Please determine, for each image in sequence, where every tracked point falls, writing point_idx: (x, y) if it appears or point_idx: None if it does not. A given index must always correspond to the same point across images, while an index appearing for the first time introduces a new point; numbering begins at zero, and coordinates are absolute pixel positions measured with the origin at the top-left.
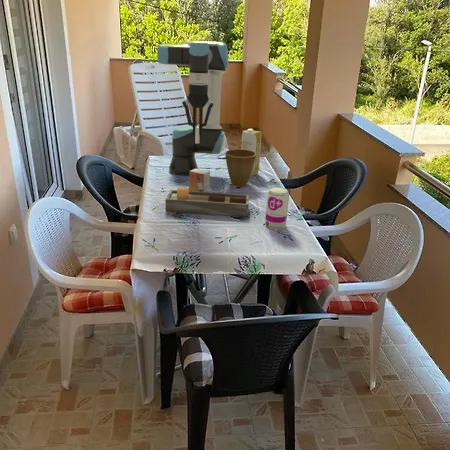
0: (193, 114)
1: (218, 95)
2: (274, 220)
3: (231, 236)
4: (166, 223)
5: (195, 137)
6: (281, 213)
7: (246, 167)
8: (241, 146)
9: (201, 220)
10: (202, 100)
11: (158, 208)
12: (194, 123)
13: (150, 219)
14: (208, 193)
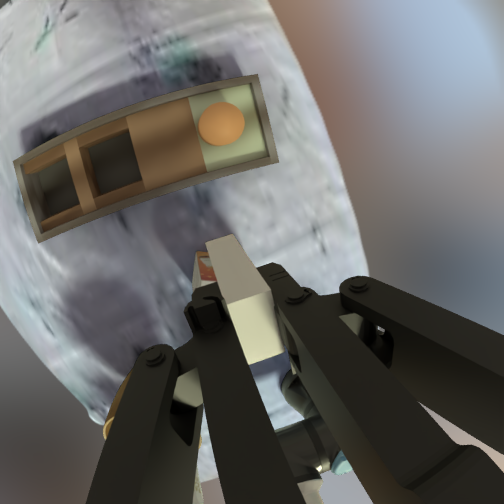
0: (399, 398)
1: None
2: None
3: (45, 38)
4: (213, 22)
5: (240, 250)
6: None
7: (116, 397)
8: (198, 479)
9: (130, 72)
10: None
11: (276, 101)
12: (305, 315)
13: (262, 31)
14: (148, 191)
